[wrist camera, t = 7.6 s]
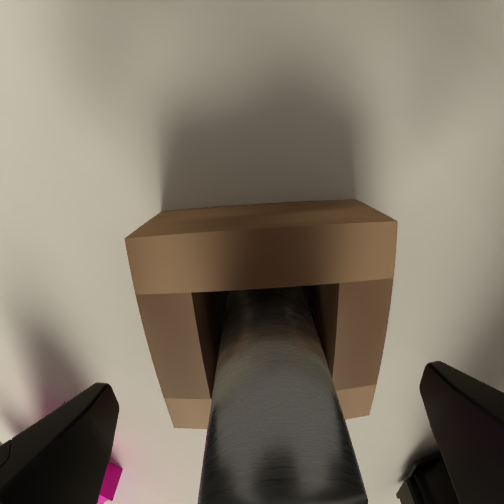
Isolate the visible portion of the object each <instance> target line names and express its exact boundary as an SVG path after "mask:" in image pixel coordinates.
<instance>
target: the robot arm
mask: <svg viewBox="0 0 504 504" xmlns="http://www.w3.org/2000/svg"><path fill="white" fill-rule="evenodd" d="M420 393H421V396H422V399H423V403H424V406H425V409H426V412H427V416H428V419H429V422H430V426H431V429H432V432H433V435H434V437H435V440H436V442H437V445H438V447H439V449H440V452H439V453H436V454H433V455H430V456H427V457H424V458H421V459H419V460H417V461H416V462H415V463H414V465H413V467H412V469H411V470H410V472H409V474H408V476H407V477H406V479H405V481H404V482H403V484H402V486H401V487H400V489H399V491H398V492H397V494H396V496H397V498H400V501H401V504H504V393H503V392H501V391H499V390H497V389H495V388H493V387H491V386H489V385H487V384H485V383H483V382H481V381H479V380H477V379H475V378H473V377H471V376H469V375H467V374H465V373H463V372H461V371H459V370H457V369H455V368H453V367H451V366H449V365H447V364H445V363H443V362H441V361H435V362H430V363H428V364H427V365H426V366H425V369H424V372H423V376H422V379H421V382H420ZM118 414H119V404H118V401H117V399H116V397H115V394H114V392H113V390H112V387H111V386H110V385H109V384H107V383H95V384H93V385H92V386H90V387H89V388H87V389H86V390H84V391H83V392H81V393H80V394H79V395H77V396H76V397H74V398H73V399H71V400H70V401H68V402H67V403H65V404H64V405H62V406H61V407H59V408H58V409H56V410H55V411H53V412H52V413H50V414H49V415H47V416H46V417H44V418H42V419H41V420H39V421H38V422H36V423H35V424H33V425H32V426H30V427H29V428H27V429H26V430H24V431H23V432H21V433H20V434H18V435H16V436H15V437H13V438H12V440H9V441H7V442H6V443H4V444H3V445H1V446H0V504H97V503H98V499H99V495H100V491H101V488H102V484H103V480H104V477H105V473H106V470H107V466H108V463H109V459H110V455H111V451H112V446H113V441H114V435H115V430H116V424H117V419H118Z"/></svg>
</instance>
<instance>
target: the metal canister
mask: <svg viewBox="0 0 504 504" xmlns="http://www.w3.org/2000/svg"><path fill="white" fill-rule="evenodd" d="M198 504H368V499H367V495H366V491H365V488H364V484H363V480H362V477H361V473H360V470H359V466H358V463H357V459H356V456H355V452H354V449H353V446H352V442H351V439H350V435H349V432H348V429H347V425H346V422H345V419H344V415H343V412H342V409H341V406H340V402H339V399H338V396H337V393H336V390H335V386H334V383H333V380H332V377H331V374H330V371H329V368H328V364H327V361H326V358H325V355H324V352H323V349H322V346H321V343H320V340H319V337H318V334H317V331H316V328H315V325H314V322H313V319H312V316H311V313H310V310H309V307H308V304H307V301H306V298H305V296H304V293H303V290H302V287H301V286H295V287H281V288H265V289H249V290H232V291H228V297H227V303H226V309H225V316H224V322H223V328H222V335H221V341H220V348H219V355H218V361H217V368H216V375H215V381H214V388H213V395H212V402H211V409H210V416H209V423H208V430H207V437H206V444H205V451H204V459H203V466H202V474H201V481H200V489H199V497H198Z"/></svg>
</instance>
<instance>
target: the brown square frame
mask: <svg viewBox="0 0 504 504" xmlns="http://www.w3.org/2000/svg"><path fill="white" fill-rule="evenodd" d="M397 222H398V221H396V220H394V219H393V218H391V217H389V216H387V215H385V214H383V213H381V212H379V211H377V210H376V209H374V208H372V207H370V206H368V205H366V204H364V203H362V202H360V201H358V200H330V201H306V202H286V203H269V204H253V205H238V206H224V207H211V208H199V209H188V210H177V211H166V212H160V213H159V214H157V215H156V216H155V217H153V218H152V219H150V220H149V221H148V222H146V223H145V224H144V225H142V226H141V227H139V228H138V229H137V230H135V231H134V232H133V233H131V234H130V235H129V236H127V237H126V238H125V243H126V249H127V255H128V260H129V265H130V270H131V275H132V280H133V285H134V289H135V294H136V298H137V303H138V307H139V311H140V315H141V319H142V323H143V327H144V331H145V335H146V339H147V343H148V346H149V350H150V354H151V357H152V361H153V364H154V367H155V371H156V374H157V377H158V381H159V384H160V387H161V390H162V393H163V396H164V399H165V402H166V405H167V408H168V411H169V414H170V417H171V420H172V423H173V425H174V428H192V429H208V423H209V416H210V409H211V402H212V395H213V388H214V381H215V375H216V368H217V361H218V355H219V348H220V341H221V340H220V339H219V331H218V324H217V317H216V309H215V302H214V294H213V291H232V290H249V289H265V288H281V287H295V286H308V285H315V300H314V325H315V328H316V331H317V334H318V337H319V340H320V343H321V346H322V349H323V352H324V355H325V358H326V361H327V364H328V368H329V371H330V374H331V377H332V380H333V383H334V386H335V390H336V393H337V396H338V399H339V402H340V406H341V409H342V412H343V415H344V419H350V418H356V417H361V416H367V415H369V413H370V409H371V405H372V401H373V397H374V393H375V388H376V384H377V379H378V374H379V369H380V364H381V359H382V354H383V348H384V343H385V337H386V330H387V324H388V317H389V310H390V303H391V295H392V286H393V276H394V266H395V254H396V240H397Z"/></svg>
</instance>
